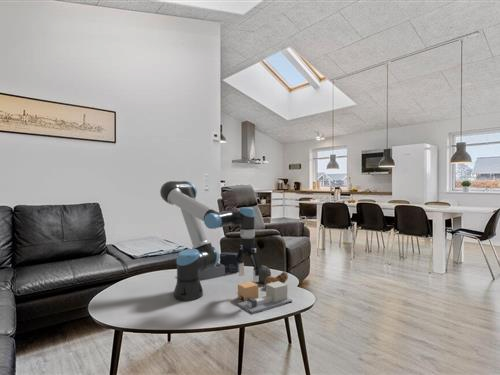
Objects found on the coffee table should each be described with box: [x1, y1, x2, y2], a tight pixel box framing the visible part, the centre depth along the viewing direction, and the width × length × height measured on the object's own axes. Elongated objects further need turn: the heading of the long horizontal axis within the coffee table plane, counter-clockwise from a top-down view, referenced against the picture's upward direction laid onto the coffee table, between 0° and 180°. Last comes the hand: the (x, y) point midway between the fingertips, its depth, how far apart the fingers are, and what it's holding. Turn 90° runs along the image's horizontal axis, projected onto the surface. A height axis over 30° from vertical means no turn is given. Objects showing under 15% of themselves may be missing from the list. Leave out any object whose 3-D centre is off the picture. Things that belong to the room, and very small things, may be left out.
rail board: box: [237, 281, 293, 315], centre depth 144 cm, size 12×24×8 cm, turn 124°
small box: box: [219, 251, 239, 273], centre depth 201 cm, size 13×7×12 cm, turn 74°
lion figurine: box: [261, 271, 289, 288], centre depth 166 cm, size 15×5×9 cm, turn 93°
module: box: [237, 281, 259, 302], centre depth 151 cm, size 7×8×7 cm
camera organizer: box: [199, 262, 226, 281], centre depth 191 cm, size 16×22×6 cm
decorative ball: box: [258, 264, 272, 283], centre depth 176 cm, size 10×10×10 cm
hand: (248, 278), depth 151 cm, fingers open, 13 cm apart
